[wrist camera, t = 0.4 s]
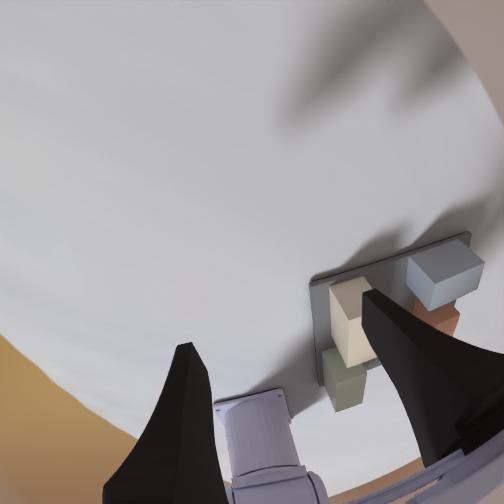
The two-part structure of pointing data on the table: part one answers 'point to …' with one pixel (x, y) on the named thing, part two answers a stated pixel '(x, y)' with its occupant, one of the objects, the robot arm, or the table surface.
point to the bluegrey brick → (443, 273)
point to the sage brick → (342, 380)
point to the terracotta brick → (438, 316)
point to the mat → (378, 276)
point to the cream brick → (349, 321)
